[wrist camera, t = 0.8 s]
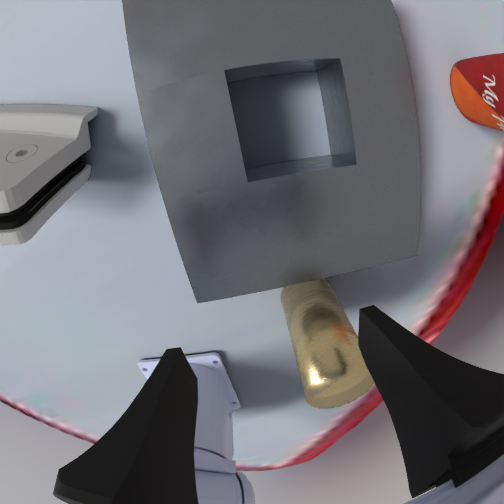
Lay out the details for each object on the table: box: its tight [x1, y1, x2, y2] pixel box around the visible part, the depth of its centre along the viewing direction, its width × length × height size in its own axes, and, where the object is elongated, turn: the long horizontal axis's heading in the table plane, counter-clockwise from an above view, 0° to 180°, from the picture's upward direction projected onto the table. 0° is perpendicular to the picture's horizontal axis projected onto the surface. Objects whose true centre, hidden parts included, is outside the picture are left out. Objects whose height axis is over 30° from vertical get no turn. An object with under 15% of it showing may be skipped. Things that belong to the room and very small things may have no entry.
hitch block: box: [122, 0, 421, 303], centre depth 14 cm, size 18×14×4 cm
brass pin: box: [281, 278, 374, 408], centre depth 17 cm, size 4×4×9 cm
